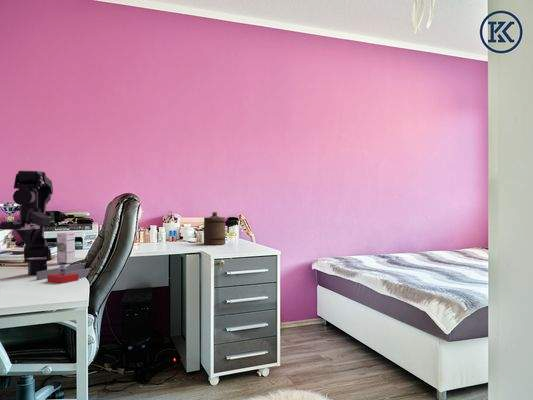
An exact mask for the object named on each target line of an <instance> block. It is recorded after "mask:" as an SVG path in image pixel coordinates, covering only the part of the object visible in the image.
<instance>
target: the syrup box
mask: <svg viewBox="0 0 533 400" xmlns="http://www.w3.org/2000/svg"><path fill="white" fill-rule="evenodd" d="M75 237H76V235H75V231H60V232H57V233H56V262H57V263H58V264H70V263H75V262H76V249H75V248H76V247H75V246H76V245H75V244H76V241H75V240H76V238H75Z"/></svg>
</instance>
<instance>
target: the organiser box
mask: <svg viewBox="0 0 533 400" xmlns="http://www.w3.org/2000/svg"><path fill="white" fill-rule="evenodd" d="M85 265H86V261H85V262H81V263H75V264H72V265H71V264H70V265H65V266H66V269H67V270H66V272H67V273H62V275H64V276H65V275H69V274H74V273H75V274H79V279H83V278H87V275H88V273H89V271H90V269H91V268H86V269H85ZM57 273H60V272H59V267H56V268H55V267H54V268H49V269H47V270H44V271H38V272H37V275H36V281H42V280H47V275H51V274H57Z"/></svg>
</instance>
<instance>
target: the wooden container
mask: <svg viewBox="0 0 533 400" xmlns="http://www.w3.org/2000/svg"><path fill="white" fill-rule="evenodd" d="M207 244H208V246H209V245H212V246H215V245H216V246H218V245H225V244H226V217H225V216H224V217H223V216H218V212H216V211H213V212H212V215H211V216H208V217H204V218H203V245H207Z"/></svg>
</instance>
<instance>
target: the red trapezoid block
mask: <svg viewBox="0 0 533 400" xmlns="http://www.w3.org/2000/svg"><path fill="white" fill-rule="evenodd" d="M66 266H67V265H65V264H61V265H60V266H59V267H58V268H59V272H60V273H57V274H51V275H47V278H46V281H47V282H48V283H53V284H61V285H62V284H67V283H73V282H78V281H79V279H80V278H79V274H75V273H74V274H69V275H65V276H64V275H62V273H67V272H66V270H67V269H66Z"/></svg>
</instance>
